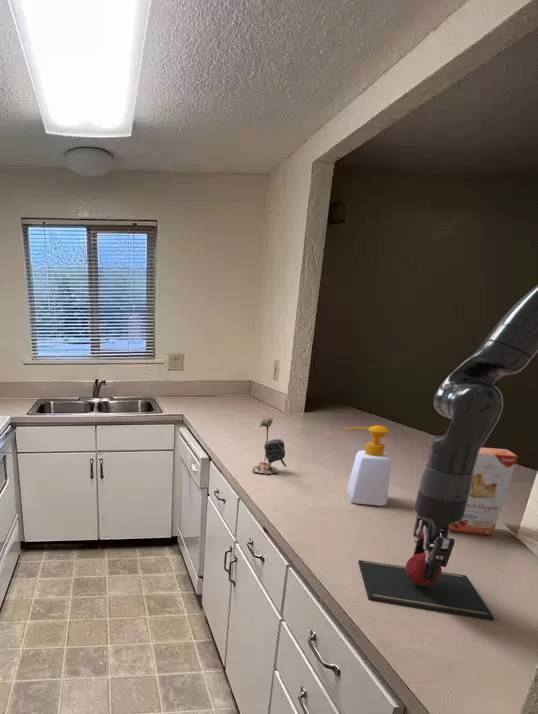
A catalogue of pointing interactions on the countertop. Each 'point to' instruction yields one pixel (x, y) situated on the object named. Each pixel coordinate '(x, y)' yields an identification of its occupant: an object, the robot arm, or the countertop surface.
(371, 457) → the soap bottle
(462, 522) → the cracker box
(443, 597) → the placemat
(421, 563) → the onion
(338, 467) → the countertop surface
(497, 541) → the countertop surface
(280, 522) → the countertop surface
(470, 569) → the countertop surface
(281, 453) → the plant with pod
